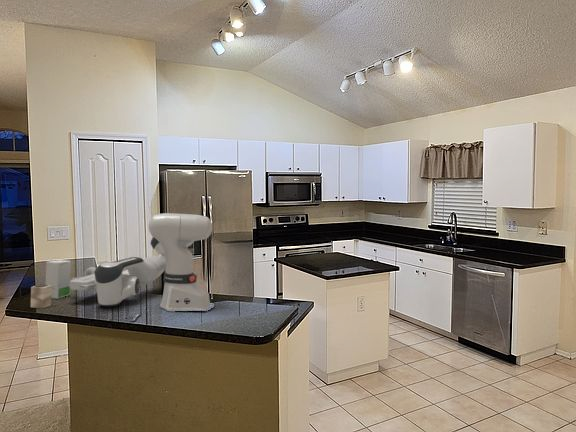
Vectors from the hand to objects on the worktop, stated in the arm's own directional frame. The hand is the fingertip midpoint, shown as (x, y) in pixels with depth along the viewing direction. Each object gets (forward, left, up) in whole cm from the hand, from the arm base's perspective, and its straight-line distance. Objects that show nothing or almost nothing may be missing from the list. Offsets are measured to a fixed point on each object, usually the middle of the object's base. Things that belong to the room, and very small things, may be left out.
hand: (72, 279), depth 182 cm
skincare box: (+7, 0, -8) cm, 11 cm away
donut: (+4, -21, -8) cm, 23 cm away
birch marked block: (+3, +16, -8) cm, 18 cm away
